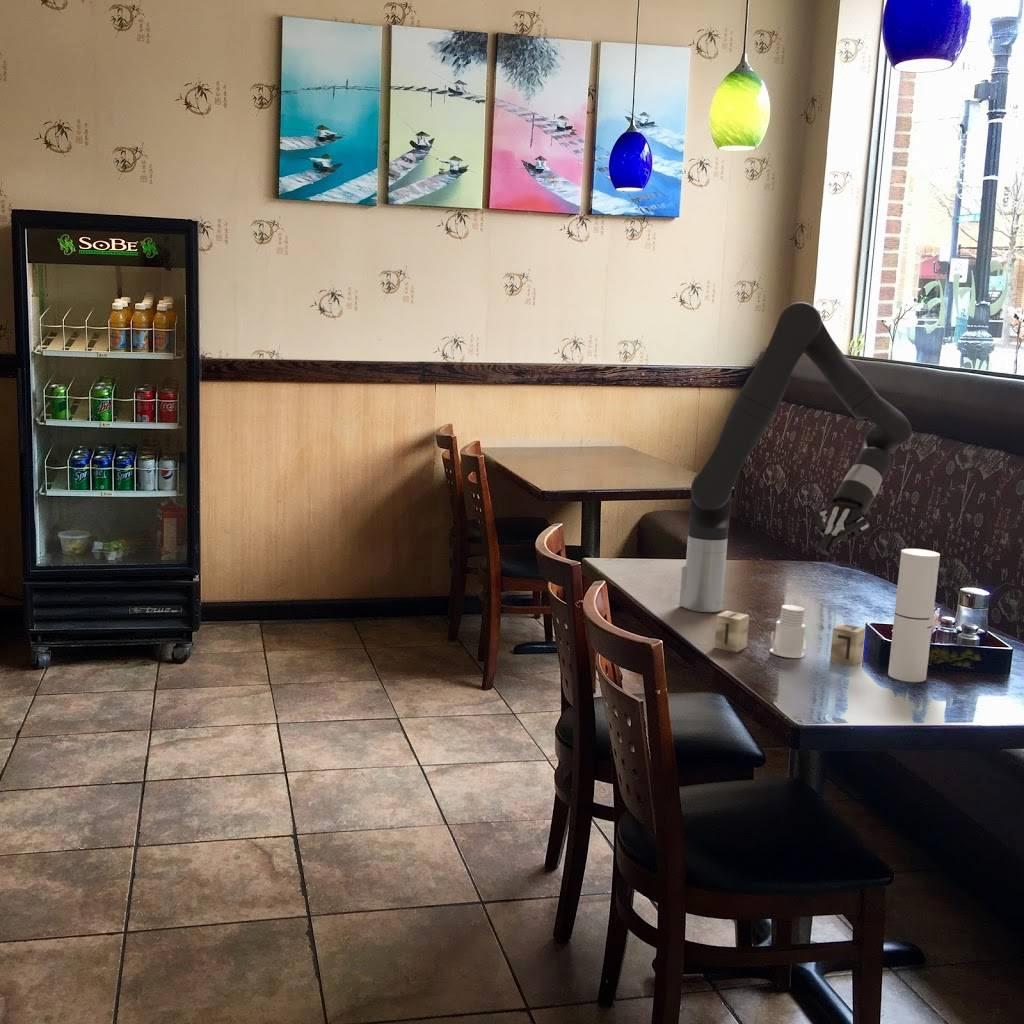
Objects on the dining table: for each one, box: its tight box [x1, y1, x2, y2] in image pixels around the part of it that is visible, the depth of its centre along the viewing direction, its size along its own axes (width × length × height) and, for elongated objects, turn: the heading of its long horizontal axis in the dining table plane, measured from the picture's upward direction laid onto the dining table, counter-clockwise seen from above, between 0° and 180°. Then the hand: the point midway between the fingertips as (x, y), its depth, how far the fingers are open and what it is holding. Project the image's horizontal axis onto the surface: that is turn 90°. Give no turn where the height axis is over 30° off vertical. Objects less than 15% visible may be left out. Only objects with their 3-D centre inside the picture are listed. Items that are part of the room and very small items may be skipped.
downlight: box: [769, 604, 808, 659], centre depth 245 cm, size 8×7×10 cm
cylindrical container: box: [887, 548, 941, 683], centre depth 232 cm, size 7×7×25 cm
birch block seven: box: [829, 622, 866, 667], centre depth 243 cm, size 5×5×7 cm
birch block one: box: [714, 610, 750, 653], centre depth 248 cm, size 5×5×7 cm
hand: (824, 552), depth 250 cm, fingers closed
